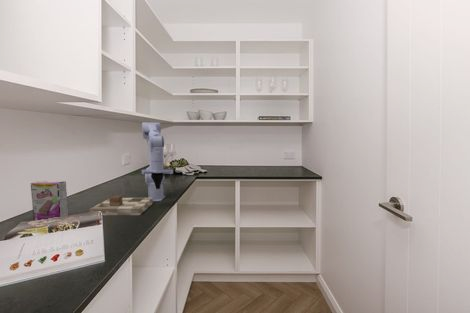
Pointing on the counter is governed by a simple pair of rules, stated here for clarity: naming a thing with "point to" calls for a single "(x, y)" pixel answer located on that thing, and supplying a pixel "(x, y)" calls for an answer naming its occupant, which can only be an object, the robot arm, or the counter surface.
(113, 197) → the walnut block
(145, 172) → the robot arm
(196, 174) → the counter surface
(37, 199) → the candy bar box
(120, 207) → the trap deck
